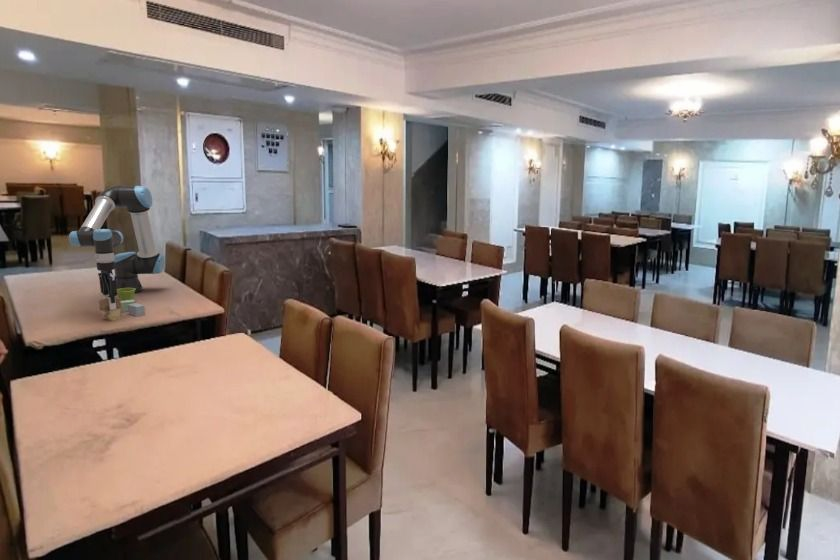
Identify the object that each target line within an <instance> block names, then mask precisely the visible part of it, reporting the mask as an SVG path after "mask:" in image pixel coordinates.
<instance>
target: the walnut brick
mask: <svg viewBox="0 0 840 560" xmlns="http://www.w3.org/2000/svg"><path fill="white" fill-rule="evenodd" d="M115 301H116V309H120V308H121V302H120V298H118V296H115ZM98 305H99V311H101V312H102V311H104V312H105V311H110V308H109V299H104V298H103V299H99V300H98ZM114 310H115V309H114Z"/></svg>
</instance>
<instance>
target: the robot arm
mask: <svg viewBox="0 0 840 560" xmlns="http://www.w3.org/2000/svg"><path fill="white" fill-rule="evenodd" d="M94 203H95V204H94V205H93V207H92V209H91V211H90V212H89V213H88V216H87V217H86V218H85V220H84V222H83V223H82V225H81V226H80V228H79V230H72V231H71V232H70V233H69V235H68V241H69V243H70V245H71V246H73V247H80V248H81V247H83V248H85V247H91V248H92V247H94V252H95V253H94V254H95V255H94V258H95V260H96V270H97V271H99V273H97V275H98V279H99V287H100V293H101V294H102V295H103V299H109V308H110V310H114V309H116V301H115V297H117V296H118V294H117V289H121V288H135V289H136V290H135V293H134V294H136V293H141V292H143V290H144V289H143V285H142V283H141V282H140V281H141V280H140V279H139V276H138V275H156V274H158V275H159V274H161V273H162V272H163V270H164V268H165V256H164V254H162V253H160V251H159V249H157V248H156V245H155V240H154V235H153V231H152V225H151V223H150V217H149V211H150V209H151V207H152V206H153V196H152V193H151V190H149V188H147V187H146V186H144V185H113V186H110V187H108V188H106V189H105V190H103V191H101V192H100V193H99V194H98V195H97V196H96V197H95V200H94ZM115 208H125V210H126V212H127V213H128V214H130V217H131V222H132V226H133V229H134V234H135V239H136V242H137V247H138V251H137V253H136V251H128V252H127V251H126V252H121V253H117V254H115V252H114V247H118V246H120V245H121V244H122V243H123V242H124V235H123V234H122V232H121V231H119V230H111V229H109V228H102V227H103V225H104V223H105V221H106V219H107V218H108V216H109V214H110V213H111V212H112V211H114V209H115ZM113 270H114V273H113Z"/></svg>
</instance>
